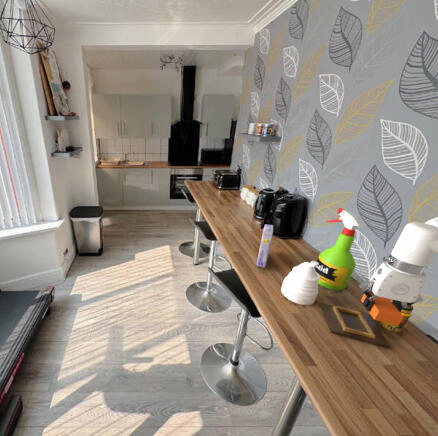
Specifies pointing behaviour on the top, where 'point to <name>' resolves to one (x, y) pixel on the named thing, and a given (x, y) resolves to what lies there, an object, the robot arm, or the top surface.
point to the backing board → (353, 325)
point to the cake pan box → (265, 246)
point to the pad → (385, 311)
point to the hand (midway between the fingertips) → (379, 310)
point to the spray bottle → (339, 254)
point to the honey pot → (302, 284)
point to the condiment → (397, 328)
